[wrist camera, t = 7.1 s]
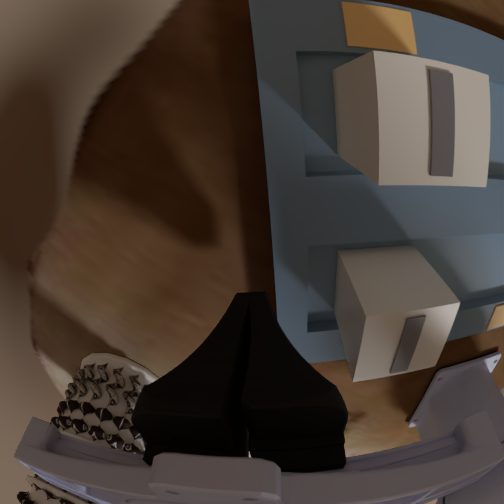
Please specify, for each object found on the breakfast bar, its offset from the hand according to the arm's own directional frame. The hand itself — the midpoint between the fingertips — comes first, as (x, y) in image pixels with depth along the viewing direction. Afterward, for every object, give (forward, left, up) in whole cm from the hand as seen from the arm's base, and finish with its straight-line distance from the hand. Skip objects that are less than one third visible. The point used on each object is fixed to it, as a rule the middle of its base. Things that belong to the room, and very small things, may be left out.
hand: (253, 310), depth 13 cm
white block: (0, -6, -2) cm, 6 cm away
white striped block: (+8, -6, -2) cm, 10 cm away
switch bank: (+4, -12, -3) cm, 13 cm away
